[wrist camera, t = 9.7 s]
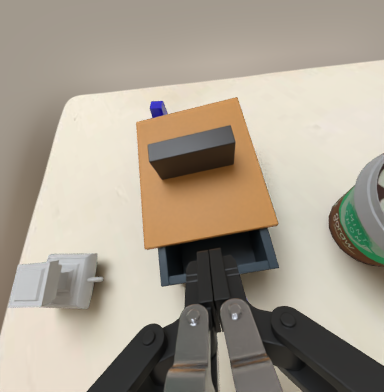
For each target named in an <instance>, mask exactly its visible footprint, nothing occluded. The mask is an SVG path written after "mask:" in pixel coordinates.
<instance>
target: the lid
mask: <svg viewBox="0 0 384 392" xmlns="http://www.w3.org/2000/svg"><path fill="white" fill-rule="evenodd" d="M136 126H137V141H138V156H139V172H140V187H141V202H142V217H143V232H144V247H145V249H147V250H149V249H154V248H160V247H165V246H170V245H176V244H181V243H187V242H192V241H197V240H203V239H208V238H214V237H219V236H224V235H230V234H235V233H241V232H246V231H251V230H257V229H262V228H268V227H273V226H277V225H278V221H277V218H276V215H275V212H274V209H273V206H272V202H271V199H270V196H269V193H268V190H267V187H266V184H265V181H264V178H263V175H262V172H261V169H260V166H259V162H258V159H257V156H256V153H255V150H254V147H253V144H252V141H251V138H250V135H249V132H248V129H247V126H246V123H245V119H244V116H243V113H242V110H241V107H240V104H239V101H238V98H237V97H236V98H232V99H228V100H224V101H220V102H216V103H212V104H208V105H204V106H200V107H195V108H191V109H187V110H183V111H179V112H175V113H171V114H167V115H163V116H159V117H155V118H151V119H147V120H143V121H139V122H136Z"/></svg>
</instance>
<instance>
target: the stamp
mask: <svg viewBox="0 0 384 392" xmlns="http://www.w3.org/2000/svg"><path fill="white" fill-rule="evenodd" d="M96 268H97V253H96V254H50V255H49V256H48V259H47V262H42V263H33V264H22V265H18V267H17V272H16V276H15V280H14V284H13V288H12V293H11V297H10V301H9V305H8V307H44V308H72V309H88V307H89V304H90V300H91V297H92V293H93V287H94V282H102V281H103V280H104V279H103V277H95V274H96Z"/></svg>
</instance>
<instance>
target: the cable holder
mask: <svg viewBox="0 0 384 392" xmlns="http://www.w3.org/2000/svg"><path fill="white" fill-rule="evenodd" d="M150 111H151V114H152V118H155V117H159V116H163V115H167V114H168V113H167V111H166V108H165V105H164V102H163V101H152V102H151V105H150Z"/></svg>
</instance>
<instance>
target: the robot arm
mask: <svg viewBox="0 0 384 392" xmlns="http://www.w3.org/2000/svg"><path fill="white" fill-rule="evenodd" d="M220 324H221V327H220ZM221 328H222V332H224V334H225V339H226V344H227V349H228V353H229V358H230V363H231V369H232V374H233V379H234V384H235V389H236V392H283V390H282V387H281V385H280V382H279V379H278V377H277V374H276V371H275V369H274V366H273V365H275V366H277V367H278V368H279V369H280V370H281V372H283V373H284V374H285V375H286V376H287V377H288V378H289V379H290V380H291V381H292V382H293V383H294V384H295V385H296V386H297V387H299V388H300V389H301V390H302V391H303V392H384V366H383V365H381V364H380V363H378V362H377V361H375V360H374V359H372V358H370V357H369V356H367V355H366V354H364V353H363V352H361V351H360V350H358V349H356V348H355V347H353V346H352V345H350V344H349V343H347V342H346V341H344V340H342V339H341V338H339V337H338V336H336V335H335V334H333V333H332V332H330V331H328V330H327V329H325V328H324V327H322V326H321V325H319V324H318V323H316V322H314V321H313V320H311V319H310V318H308V317H307V316H305V315H304V314H302V313H300V312H299V311H297V310H296V309H294V308H291V307H288V306H280V307H277V308H275V309H274V310H273V311H272V312H269V311H263V310H259V309H257V308H255V307H253V306H252V305H251V304H250V303H249V302H248V301H247V299H246V296H245V292H244V289H243V285H242V281H241V278H240V274H239V271H238V267H237V263H236V260H235V259H234V258H233V257H232V256H231V255H227V256H222V253H221V248H217V249H211V250H209V251H208V250H205V251H200V252H197V261H192V262H190V263H189V265H188V267H187V268H186V289H185V308H184V310H183V311H182V313H181V315H180V318H179V319H178V320H176V321H175V322H173V323H172V324H170V325H168V326H166V327H164V328H162V327H161V326H160V325H158V324H149V325H147V326H145V327H144V328H142V329H141V330H140V331H139V333H138V334H137V335H136V336H135V337H134V338H133V339H132V341H131V342H130V343H129V344H128V345H127V346H126V347H125V349H124V350H123V351H122V352H121V353H120V354H119V355H118V357H117V358H116V359H115V360H114V361H113V362H112V363H111V365H110V366H109V367H108V368H107V369H106V370H105V371H104V373H103V374H102V375H101V376H100V377H99V378H98V379H97V381H96V382H95V383H94V384H93V385H92V386H91V387H90V388H89V390H88V391H87V392H220V386H219V358H218V342H217V333H218V332H221Z"/></svg>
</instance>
